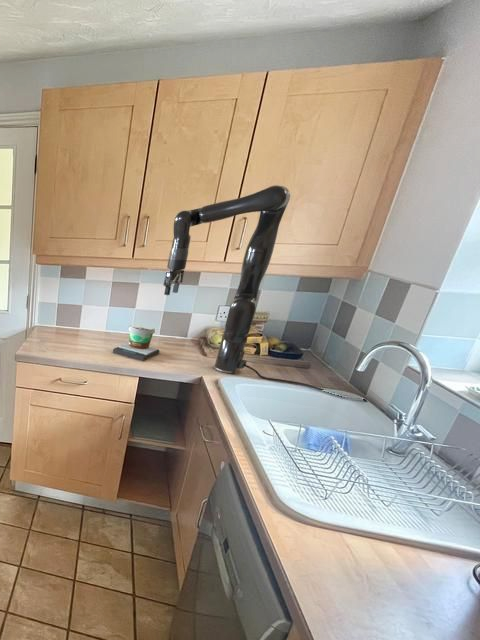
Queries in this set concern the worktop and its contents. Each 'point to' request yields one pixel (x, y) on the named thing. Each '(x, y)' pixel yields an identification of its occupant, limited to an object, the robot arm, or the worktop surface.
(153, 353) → the scale
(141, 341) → the food container
